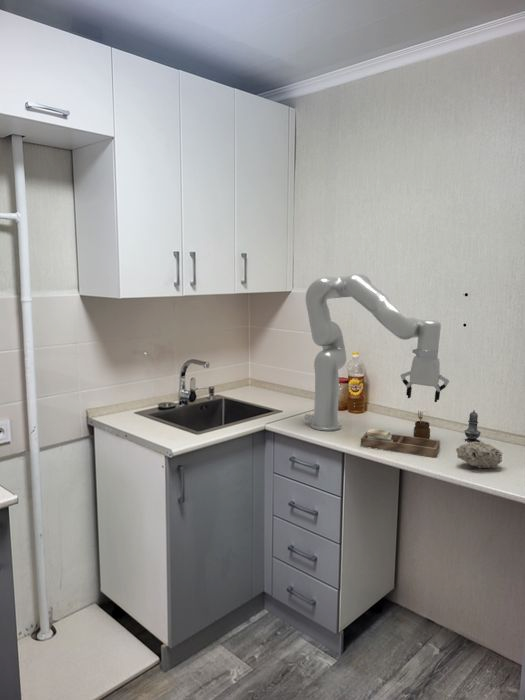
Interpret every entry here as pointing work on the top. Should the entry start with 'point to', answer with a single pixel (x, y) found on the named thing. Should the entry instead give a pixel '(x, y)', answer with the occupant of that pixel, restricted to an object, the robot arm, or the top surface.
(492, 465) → the pumice stone
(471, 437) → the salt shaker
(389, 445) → the wooden divided tray
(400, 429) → the top surface
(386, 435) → the offcut stack
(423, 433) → the utensil holder
